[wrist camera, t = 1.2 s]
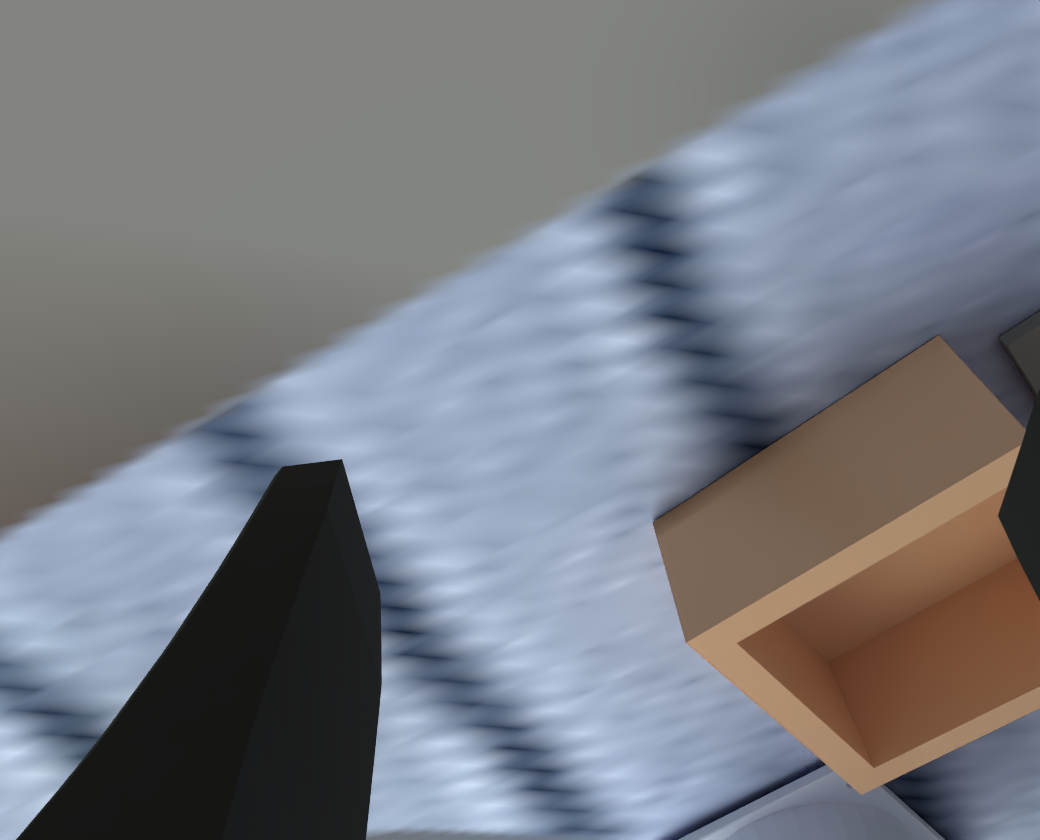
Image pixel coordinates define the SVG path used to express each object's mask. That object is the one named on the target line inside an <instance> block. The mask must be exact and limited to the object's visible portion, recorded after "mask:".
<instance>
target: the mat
mask: <svg viewBox="0 0 1040 840" xmlns="http://www.w3.org/2000/svg"><path fill="white" fill-rule="evenodd" d="M998 338H999V339H1000V341H1001V342H1002V344H1003V346H1004V347H1005V349H1006V350H1007V352H1008V353H1009V355H1010V357H1011V358H1012V360H1013V361H1014V363H1015V365H1016V366H1017V368H1018V369H1019V371H1020V373H1021V374H1022V376H1023V377H1024V379H1025V380H1026V382H1027V384H1028V385H1029V387H1030V388H1031V390H1032V392H1033V393H1034V395H1035V396H1036V398H1037V395H1038V392H1039V389H1040V311H1039V312H1037V313H1036V314H1034V315H1033V316H1031V317H1029V318H1028V319H1026V320H1025V321H1023V322H1022V323H1020V324H1018V325H1017V326H1015V327H1014V328H1012V329H1011V330H1009V331H1008V332H1006V333H1004V334H1003V335H1001V336H1000V337H998Z"/></svg>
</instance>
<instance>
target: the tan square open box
mask: <svg viewBox="0 0 1040 840" xmlns="http://www.w3.org/2000/svg"><path fill="white" fill-rule="evenodd" d="M1025 432H1026V429H1025V428H1024V427H1023V426H1022V425H1021V424H1020V423H1019V422H1018V421H1017V420H1016V418H1015V417H1014V416H1013V415H1012V414H1011V413H1010V412H1009V411H1008V410H1007V409H1006V408H1005V406H1004V405H1003V404H1002V403H1001V402H1000V401H999V400H998V399H997V398H996V397H995V396H994V394H993V393H992V392H991V391H990V390H989V389H988V388H987V387H986V386H985V385H984V384H983V383H982V381H981V380H980V379H979V378H978V377H977V376H976V375H975V374H974V373H973V372H972V371H971V369H970V368H969V367H968V366H967V365H966V364H965V363H964V362H963V361H962V360H961V359H960V357H959V356H958V355H957V354H956V353H955V352H954V351H953V350H952V349H951V348H950V347H949V345H948V344H947V343H946V342H945V341H944V340H943V339H942V338H941V337H940V336H939V335H938V336H937V337H935V338H934V339H932V340H931V341H929V342H927V343H926V344H924V345H923V346H921V347H920V348H918V349H917V350H915V351H914V352H912V353H911V354H909V355H908V356H906V357H905V358H903V359H902V360H900V361H898V362H897V363H895V364H894V365H892V366H891V367H889V368H888V369H886V370H885V371H883V372H882V373H880V374H879V375H877V376H876V377H874V378H872V379H871V380H869V381H868V382H866V383H865V384H863V385H862V386H860V387H859V388H857V389H856V390H854V391H853V392H851V393H850V394H848V395H847V396H845V397H843V398H842V399H840V400H839V401H837V402H836V403H834V404H833V405H831V406H830V407H828V408H827V409H825V410H824V411H822V412H821V413H819V414H818V415H816V416H814V417H813V418H811V419H810V420H808V421H807V422H805V423H804V424H802V425H801V426H799V427H798V428H796V429H795V430H793V431H792V432H790V433H788V434H787V435H785V436H784V437H782V438H781V439H779V440H778V441H776V442H775V443H773V444H772V445H770V446H769V447H767V448H766V449H764V450H763V451H761V452H759V453H758V454H756V455H755V456H753V457H752V458H750V459H749V460H747V461H746V462H744V463H743V464H741V465H740V466H738V467H737V468H735V469H733V470H732V471H730V472H729V473H727V474H726V475H724V476H723V477H721V478H720V479H718V480H717V481H715V482H714V483H712V484H711V485H709V486H708V487H706V488H704V489H703V490H701V491H700V492H698V493H697V494H695V495H694V496H692V497H691V498H689V499H688V500H686V501H685V502H683V503H682V504H680V505H679V506H677V507H675V508H674V509H672V510H671V511H669V512H668V513H666V514H665V515H663V516H662V517H660V518H659V519H657V520H656V521H654V522H653V526H654V529H655V533H656V537H657V540H658V544H659V547H660V551H661V555H662V558H663V562H664V565H665V569H666V573H667V576H668V580H669V583H670V587H671V591H672V594H673V598H674V601H675V605H676V609H677V612H678V616H679V619H680V623H681V627H682V630H683V634H684V637H685V641H686V643H687V644H688V645H689V646H690V647H691V648H692V649H694V650H695V651H696V652H697V653H698V654H699V655H700V656H702V657H703V658H704V659H705V660H706V661H707V662H709V663H710V664H711V665H712V666H713V667H714V668H715V669H717V670H718V671H719V672H720V673H721V674H722V675H724V676H725V677H726V678H727V679H728V680H729V681H730V682H732V683H733V684H734V685H735V686H736V687H737V688H739V689H740V690H741V691H742V692H743V693H744V694H745V695H747V696H748V697H749V698H750V699H751V700H752V701H754V702H755V703H756V704H757V705H758V706H759V707H760V708H762V709H763V710H764V711H765V712H766V713H767V714H768V715H770V716H771V717H772V718H773V719H774V720H775V721H777V722H778V723H779V724H780V725H781V726H782V727H783V728H785V729H786V730H787V731H788V732H789V733H790V734H792V735H793V736H794V737H795V738H796V739H797V740H798V741H800V742H801V743H802V744H803V745H804V746H805V747H807V748H808V749H809V750H810V751H811V752H812V753H813V754H815V755H816V756H817V757H818V758H819V759H820V760H822V761H823V762H824V763H825V764H826V765H827V766H828V767H830V768H831V769H832V770H833V771H834V772H835V773H837V774H838V775H839V776H840V777H841V778H842V779H843V780H845V781H846V782H847V783H848V784H849V785H850V786H851V787H853V788H854V789H855V790H856V791H857V792H858V793H860V794H861V795H862V794H864V793H866V792H868V791H870V790H873V789H875V788H877V787H879V786H881V785H883V784H885V783H887V782H889V781H891V780H893V779H895V778H897V777H899V776H901V775H903V774H906V773H908V772H910V771H912V770H914V769H916V768H918V767H920V766H922V765H924V764H926V763H928V762H930V761H932V760H934V759H936V758H939V757H941V756H943V755H945V754H947V753H949V752H951V751H953V750H955V749H957V748H959V747H961V746H963V745H965V744H967V743H969V742H971V741H974V740H976V739H978V738H980V737H982V736H984V735H986V734H988V733H990V732H992V731H994V730H996V729H998V728H1000V727H1002V726H1004V725H1007V724H1009V723H1011V722H1013V721H1015V720H1017V719H1019V718H1021V717H1023V716H1025V715H1027V714H1029V713H1031V712H1033V711H1035V710H1037V709H1040V601H1039V599H1038V597H1037V595H1036V593H1035V591H1034V589H1033V587H1032V585H1031V583H1030V582H1029V580H1028V578H1027V576H1026V574H1025V572H1024V570H1023V568H1022V566H1021V564H1020V562H1019V560H1018V558H1017V556H1016V554H1015V552H1014V549H1013V547H1012V545H1011V543H1010V541H1009V539H1008V537H1007V534H1006V532H1005V530H1004V528H1003V526H1002V524H1001V522H1000V519H999V517H998V514H999V511H1000V508H1001V505H1002V501H1003V498H1004V495H1005V492H1006V489H1007V486H1008V483H1009V480H1010V477H1011V474H1012V471H1013V468H1014V465H1015V462H1016V459H1017V456H1018V453H1019V450H1020V447H1021V444H1022V441H1023V438H1024V435H1025Z"/></svg>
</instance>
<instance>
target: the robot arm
mask: <svg viewBox="0 0 1040 840" xmlns="http://www.w3.org/2000/svg"><path fill="white" fill-rule="evenodd" d="M998 517H999V519H1000V522H1001V524H1002V526H1003V528H1004V530H1005V532H1006V534H1007V537H1008V539H1009V541H1010V543H1011V545H1012V547H1013V549H1014V552H1015V554H1016V556H1017V558H1018V560H1019V562H1020V564H1021V566H1022V568H1023V570H1024V572H1025V574H1026V576H1027V578H1028V580H1029V582H1030V583H1031V585H1032V587H1033V589H1034V591H1035V593H1036V595H1037V597H1038V599H1039V601H1040V389H1039V392H1038V395H1037V398H1036V401H1035V404H1034V408H1033V411H1032V414H1031V417H1030V420H1029V423H1028V426H1027V429H1026V432H1025V435H1024V438H1023V441H1022V444H1021V447H1020V450H1019V453H1018V456H1017V459H1016V462H1015V465H1014V468H1013V471H1012V474H1011V477H1010V480H1009V483H1008V486H1007V489H1006V492H1005V495H1004V498H1003V501H1002V505H1001V508H1000V511H999V514H998ZM381 684H382V675H381V601H380V591H379V587H378V584H377V580H376V577H375V573H374V570H373V566H372V563H371V559H370V556H369V552H368V549H367V545H366V542H365V538H364V535H363V531H362V528H361V524H360V521H359V517H358V514H357V510H356V507H355V503H354V500H353V496H352V493H351V489H350V486H349V482H348V479H347V475H346V472H345V468H344V465H343V461H342V459H341V460H333V461H325V462H317V463H309V464H301V465H293V466H285V467H282V468H281V469H280V470H279V472H278V473H277V474H276V475H275V476H274V478H273V480H272V481H271V483H270V485H269V486H268V488H267V490H266V491H265V493H264V495H263V496H262V498H261V500H260V501H259V503H258V505H257V506H256V508H255V510H254V511H253V513H252V515H251V517H250V518H249V520H248V522H247V523H246V525H245V527H244V528H243V530H242V531H241V533H240V535H239V536H238V538H237V540H236V541H235V543H234V545H233V546H232V548H231V549H230V551H229V553H228V554H227V556H226V557H225V559H224V561H223V562H222V564H221V565H220V567H219V569H218V570H217V572H216V573H215V575H214V577H213V578H212V580H211V581H210V583H209V584H208V586H207V587H206V589H205V590H204V592H203V593H202V595H201V596H200V598H199V599H198V601H197V602H196V604H195V605H194V607H193V608H192V610H191V611H190V613H189V614H188V616H187V617H186V619H185V621H184V622H183V624H182V625H181V627H180V628H179V630H178V631H177V633H176V634H175V636H174V637H173V639H172V640H171V641H170V643H169V644H168V646H167V647H166V649H165V650H164V652H163V653H162V654H161V656H160V657H159V659H158V660H157V661H156V663H155V664H154V665H153V667H152V668H151V670H150V671H149V672H148V674H147V675H146V676H145V678H144V679H143V680H142V682H141V683H140V685H139V686H138V687H137V689H136V690H135V691H134V693H133V694H132V695H131V697H130V698H129V700H128V701H127V702H126V704H125V705H124V706H123V708H122V709H121V710H120V712H119V713H118V715H117V716H116V717H115V719H114V720H113V721H112V723H111V724H110V725H109V727H108V728H107V729H106V731H105V732H104V733H103V735H102V736H101V737H100V738H99V740H98V741H97V742H96V744H95V745H94V746H93V747H92V749H91V750H90V751H89V752H88V754H87V755H86V756H85V757H84V759H83V760H82V761H81V763H80V764H79V765H78V766H77V768H76V769H75V770H74V771H73V773H72V774H71V775H70V776H69V777H68V779H67V780H66V781H65V782H64V784H63V785H62V786H61V787H60V788H59V790H58V791H57V792H56V793H55V794H54V796H53V797H52V798H51V799H50V800H49V802H48V803H47V804H46V805H45V806H44V807H43V809H42V810H41V811H40V812H39V813H38V814H37V816H36V817H35V818H34V819H33V820H32V822H31V823H30V824H29V825H28V826H27V827H26V829H25V830H24V831H23V832H22V833H21V835H20V836H19V837H18V838H17V839H16V840H366V832H367V823H368V813H369V803H370V794H371V784H372V775H373V765H374V756H375V746H376V736H377V726H378V716H379V706H380V695H381ZM678 840H945V839H944V838H943V837H942V836H940V835H939V834H938V833H937V832H936V831H935V830H934V829H933V828H932V827H930V826H929V825H928V824H927V823H926V822H925V821H924V820H923V819H922V818H920V817H919V816H918V815H917V814H916V813H915V812H914V811H913V810H912V809H910V808H909V807H908V806H907V805H906V804H905V803H904V802H903V801H902V800H900V799H899V798H898V797H897V796H896V795H895V794H894V793H893V792H892V791H891V790H889V789H888V788H887V787H886V786H885V785H884V784H883V785H881V786H879V787H877V788H875V789H873V790H870V791H868V792H866V793H864V794H862V795H861V794H860V793H858V792H857V791H856V790H855V789H854V788H853V787H851V786H850V785H849V784H848V783H847V782H846V781H845V780H843V779H842V778H841V777H840V776H839V775H838V774H837V773H835V772H834V771H833V770H832V769H831V768H830V767H828V766H827V765H825V766H823V767H821V768H819V769H817V770H815V771H813V772H811V773H809V774H807V775H805V776H803V777H801V778H799V779H797V780H795V781H793V782H791V783H789V784H787V785H785V786H783V787H781V788H779V789H777V790H775V791H773V792H771V793H769V794H767V795H765V796H763V797H761V798H759V799H757V800H755V801H753V802H751V803H749V804H747V805H745V806H743V807H741V808H739V809H737V810H735V811H734V812H732V813H730V814H728V815H726V816H724V817H722V818H720V819H718V820H716V821H714V822H712V823H710V824H708V825H706V826H704V827H702V828H700V829H698V830H696V831H694V832H692V833H690V834H688V835H686V836H684V837H682V838H680V839H678Z"/></svg>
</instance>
